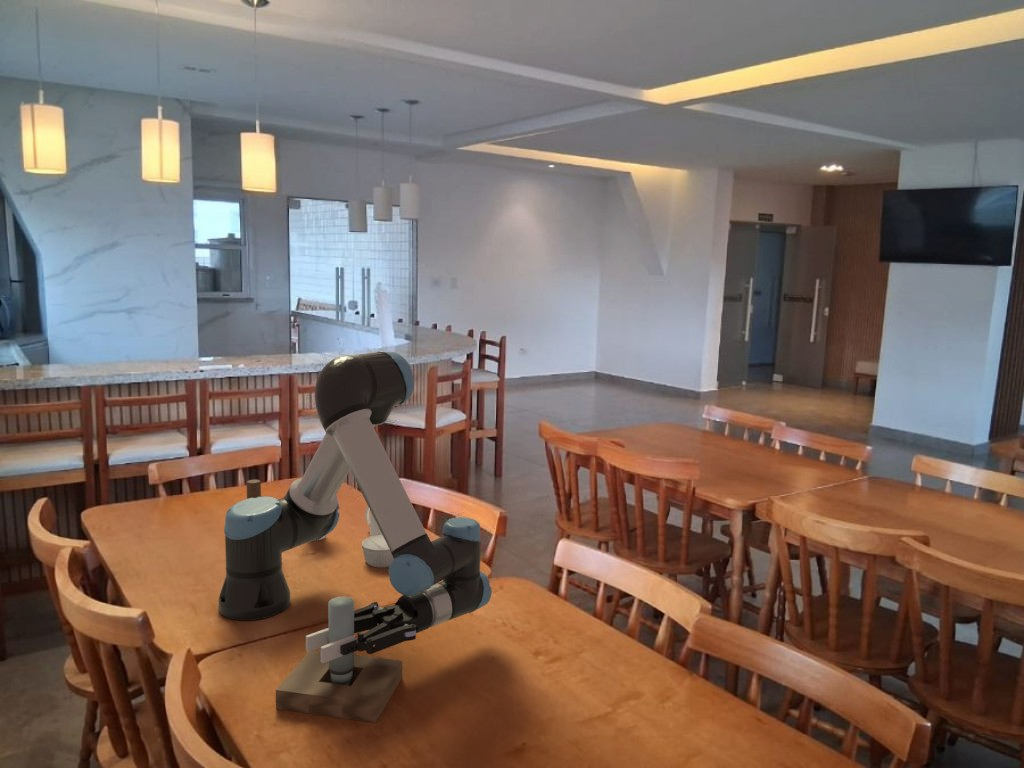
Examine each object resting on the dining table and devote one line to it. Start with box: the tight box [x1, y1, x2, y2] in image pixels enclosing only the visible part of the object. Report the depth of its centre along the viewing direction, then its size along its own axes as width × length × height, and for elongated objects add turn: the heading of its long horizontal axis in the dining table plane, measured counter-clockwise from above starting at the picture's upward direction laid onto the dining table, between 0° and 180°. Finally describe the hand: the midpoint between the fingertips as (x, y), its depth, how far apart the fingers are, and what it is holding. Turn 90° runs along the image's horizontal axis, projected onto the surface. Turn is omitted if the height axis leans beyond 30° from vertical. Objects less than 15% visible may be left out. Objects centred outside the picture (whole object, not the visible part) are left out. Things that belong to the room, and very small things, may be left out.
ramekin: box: [361, 535, 394, 569], centre depth 193 cm, size 11×11×5 cm
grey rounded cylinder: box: [327, 596, 355, 686], centre depth 132 cm, size 4×4×16 cm
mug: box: [364, 505, 382, 537], centre depth 212 cm, size 12×9×9 cm
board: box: [275, 649, 403, 724], centre depth 133 cm, size 18×14×4 cm
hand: (314, 649), depth 128 cm, fingers closed on grey rounded cylinder, 4 cm apart
